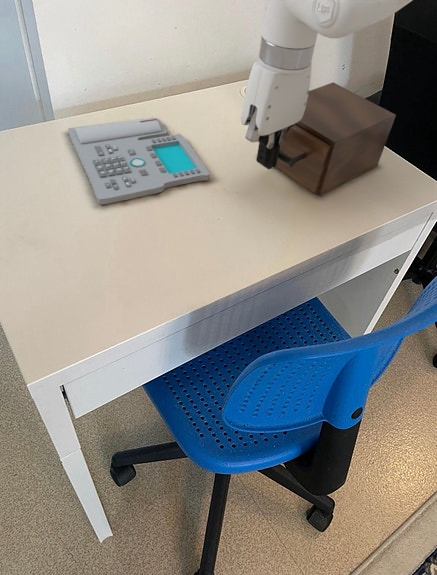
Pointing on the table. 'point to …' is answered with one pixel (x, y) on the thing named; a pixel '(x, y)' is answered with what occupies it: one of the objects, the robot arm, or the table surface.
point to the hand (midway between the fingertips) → (266, 163)
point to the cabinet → (346, 132)
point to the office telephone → (134, 159)
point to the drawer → (303, 157)
